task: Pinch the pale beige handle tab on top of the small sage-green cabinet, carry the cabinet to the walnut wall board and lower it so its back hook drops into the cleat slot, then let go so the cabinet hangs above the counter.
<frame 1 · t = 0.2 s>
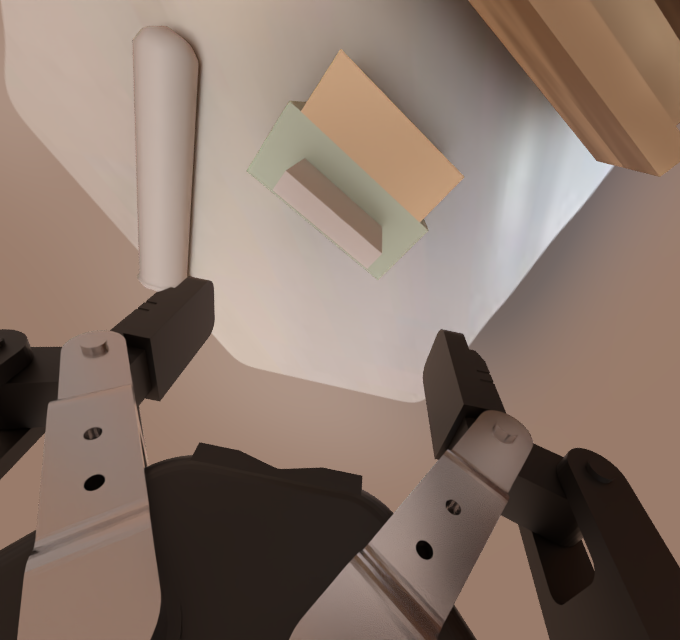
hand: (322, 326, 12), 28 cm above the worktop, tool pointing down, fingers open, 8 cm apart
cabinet: (349, 178, 36), on the worktop
tube: (177, 173, 38), on the worktop
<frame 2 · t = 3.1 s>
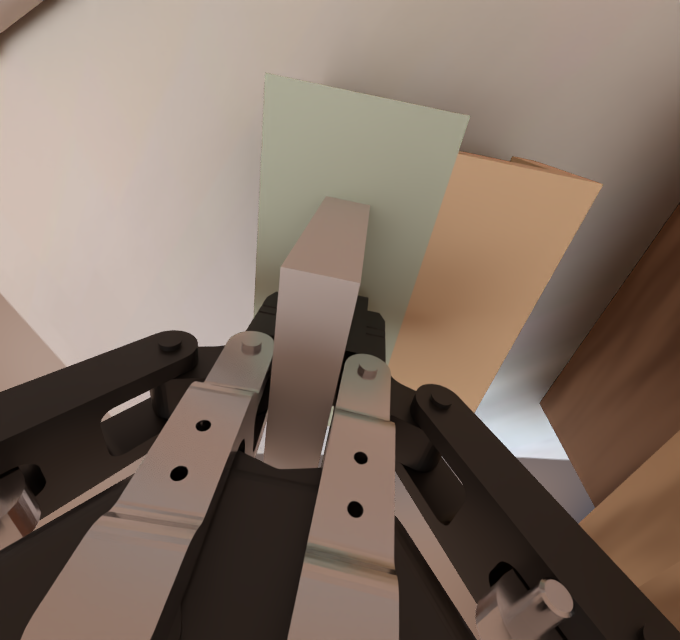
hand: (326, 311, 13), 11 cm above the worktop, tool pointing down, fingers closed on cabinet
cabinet: (349, 228, 22), on the worktop, touching gripper
wall board: (637, 287, 22), on the worktop
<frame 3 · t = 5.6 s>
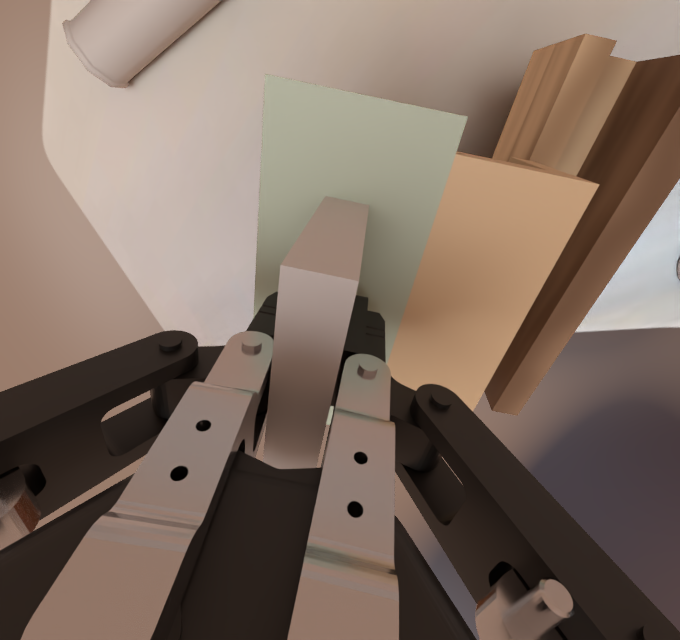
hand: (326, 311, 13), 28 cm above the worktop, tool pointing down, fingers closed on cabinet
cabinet: (349, 228, 22), point 17 cm above the worktop, touching gripper
wall board: (489, 203, 37), on the worktop
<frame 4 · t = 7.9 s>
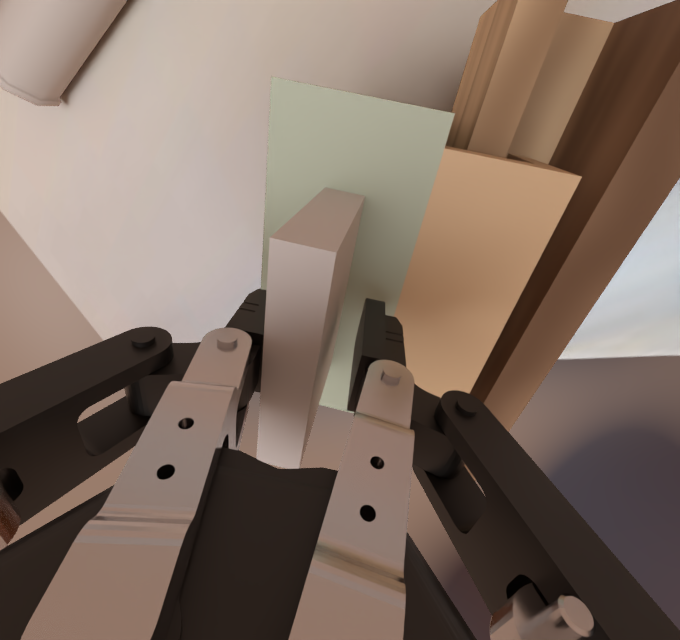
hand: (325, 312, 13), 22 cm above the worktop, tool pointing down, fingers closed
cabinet: (357, 224, 23), point 10 cm above the worktop, touching gripper, wall board
wall board: (460, 212, 32), on the worktop
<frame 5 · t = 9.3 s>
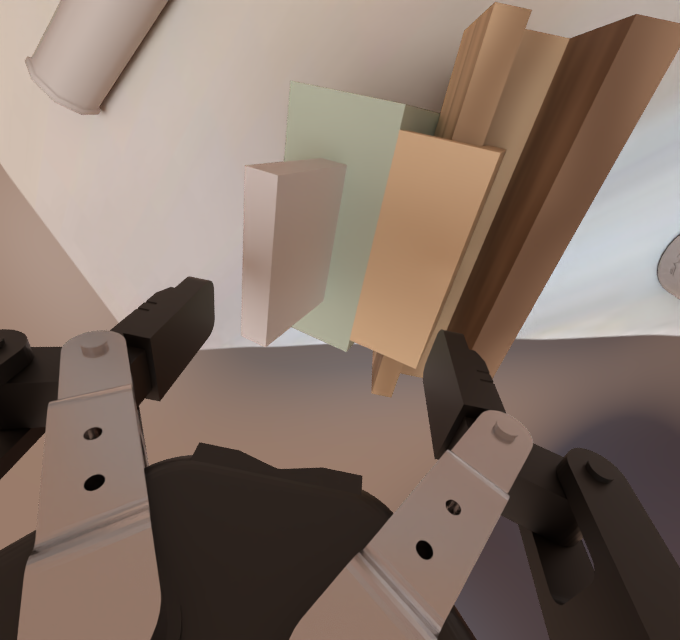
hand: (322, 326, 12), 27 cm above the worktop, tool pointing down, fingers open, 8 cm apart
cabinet: (381, 208, 27), point 9 cm above the worktop, tilted 20°, touching wall board
wall board: (452, 202, 35), on the worktop
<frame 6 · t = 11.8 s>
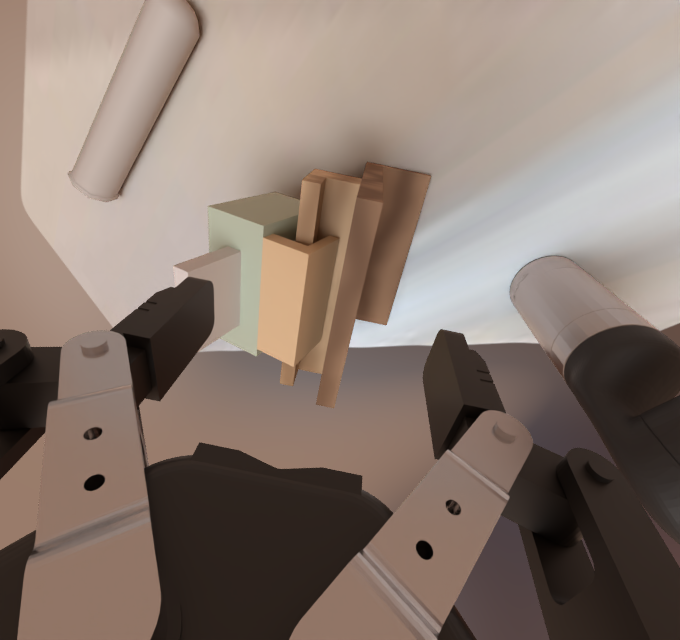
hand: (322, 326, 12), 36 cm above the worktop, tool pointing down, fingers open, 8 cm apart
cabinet: (291, 258, 41), point 9 cm above the worktop, tilted 20°, touching wall board
wall board: (356, 247, 48), on the worktop
tube: (145, 105, 42), on the worktop
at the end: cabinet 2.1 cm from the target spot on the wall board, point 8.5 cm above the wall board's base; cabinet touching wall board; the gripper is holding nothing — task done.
